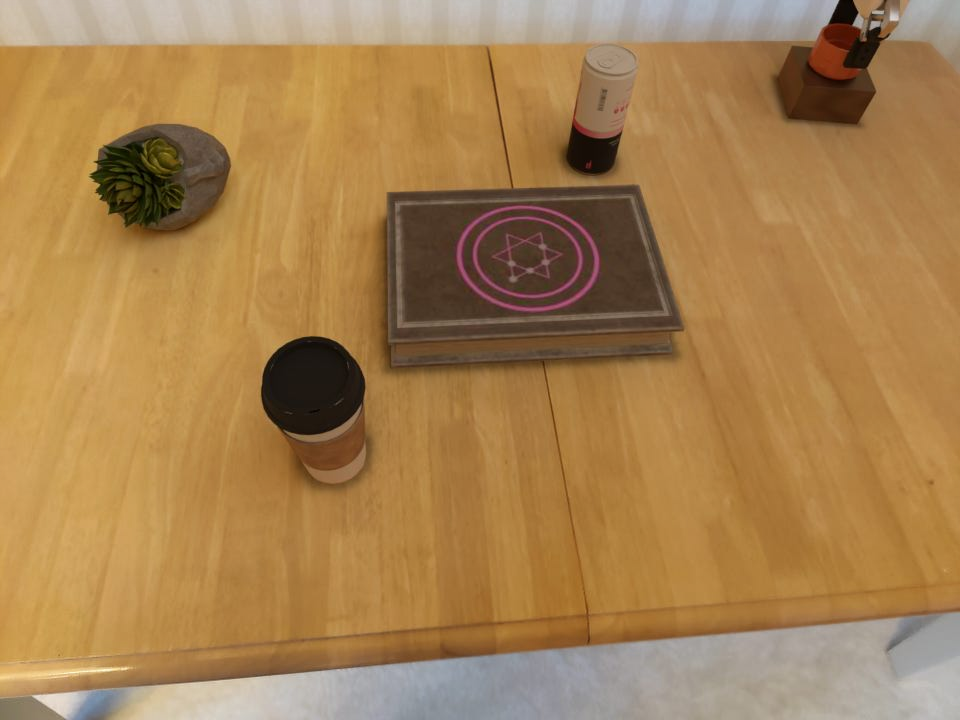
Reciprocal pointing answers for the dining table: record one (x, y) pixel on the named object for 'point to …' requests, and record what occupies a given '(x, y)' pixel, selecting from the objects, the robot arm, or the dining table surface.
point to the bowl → (834, 51)
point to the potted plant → (162, 175)
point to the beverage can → (601, 107)
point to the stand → (822, 91)
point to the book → (525, 276)
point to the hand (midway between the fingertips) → (846, 47)
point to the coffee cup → (318, 405)
